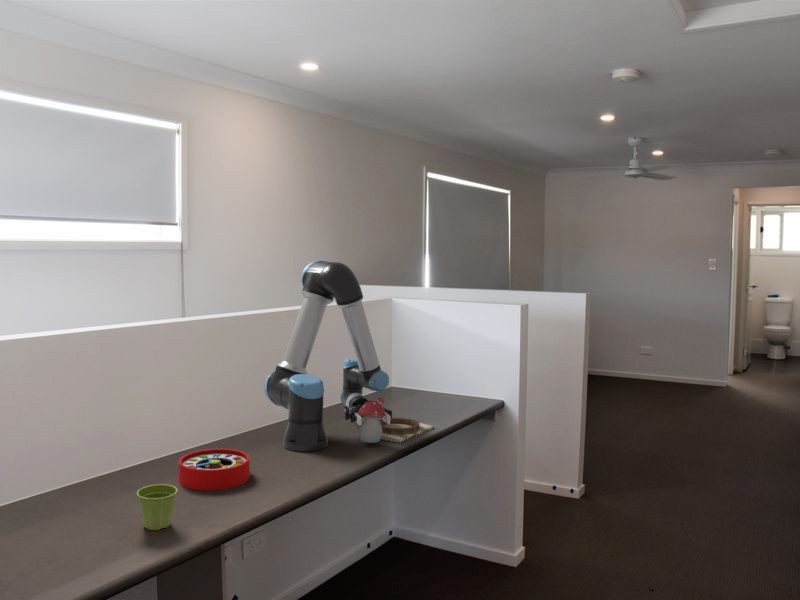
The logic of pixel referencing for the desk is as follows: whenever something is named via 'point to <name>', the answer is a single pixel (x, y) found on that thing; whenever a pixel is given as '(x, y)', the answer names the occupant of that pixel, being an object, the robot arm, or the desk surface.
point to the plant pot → (157, 505)
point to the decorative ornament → (371, 421)
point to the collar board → (403, 437)
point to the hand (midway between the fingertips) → (374, 420)
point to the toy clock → (213, 469)
